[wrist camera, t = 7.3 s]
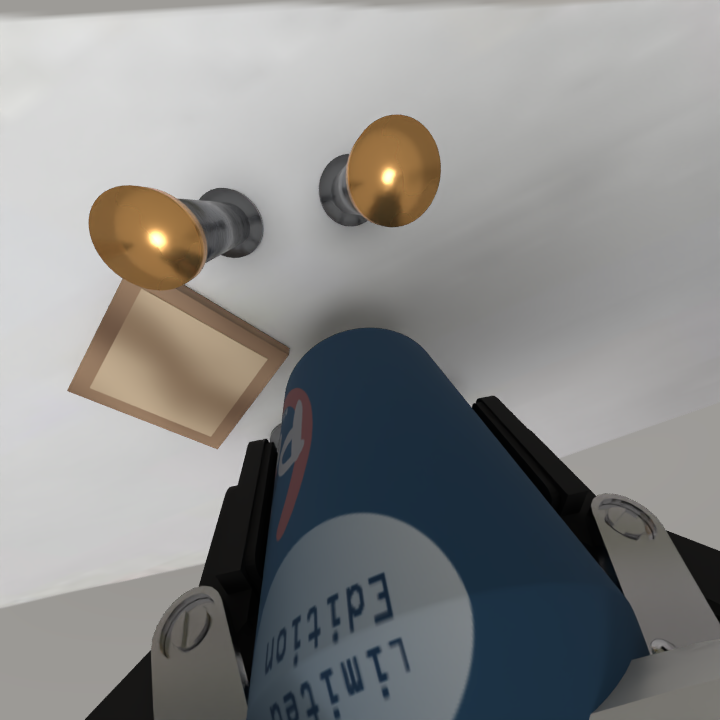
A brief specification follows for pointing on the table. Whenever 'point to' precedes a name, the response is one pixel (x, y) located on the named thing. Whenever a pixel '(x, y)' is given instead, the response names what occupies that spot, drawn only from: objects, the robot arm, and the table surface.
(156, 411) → the walnut coaster
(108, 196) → the post
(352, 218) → the post
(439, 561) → the soda can
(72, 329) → the table surface
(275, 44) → the table surface
